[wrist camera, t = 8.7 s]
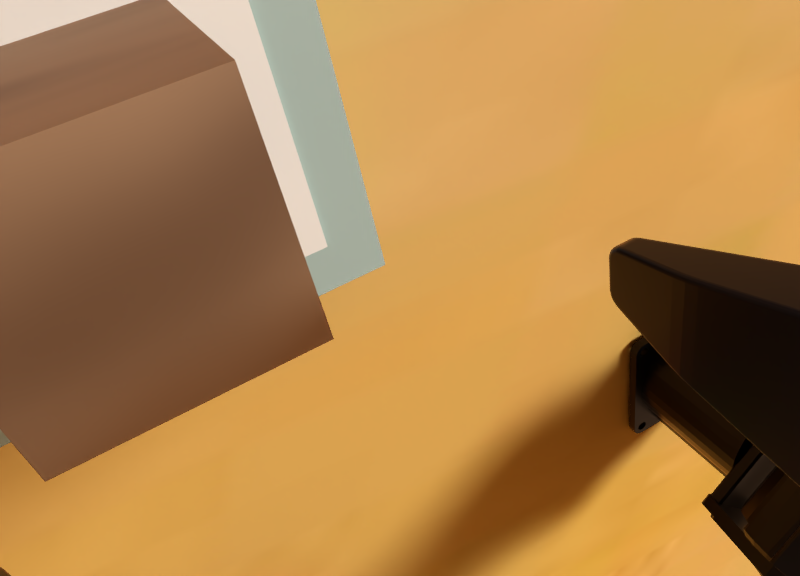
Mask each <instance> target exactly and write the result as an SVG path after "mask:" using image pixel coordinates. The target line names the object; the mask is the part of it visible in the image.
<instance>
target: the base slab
mask: <svg viewBox="0 0 800 576" xmlns="http://www.w3.org/2000/svg"><path fill="white" fill-rule="evenodd" d="M135 1H138V0H0V46H3V45H6V44H9V43H12V42H15V41H18V40H21V39H24V38H27V37H30V36H33V35H36V34H39V33H42V32H45V31H48V30H51V29H54V28H57V27H60V26H63V25H66V24H69V23H72V22H75V21H78V20H81V19H84V18H87V17H90V16H93V15H96V14H99V13H102V12H105V11H108V10H111V9H114V8H117V7H120V6H123V5H126V4H129V3H132V2H135ZM167 1H169V2H170V3H171V4H172V5H173V6H174V7H175V8H177V9H178V10H179V11H180V12H181V13H182V14H183V15H185V16H186V17H187V18H188V19H189V20H190V21H191V22H193V23H194V24H195V25H196V26H197V27H198V28H199V29H200V30H202V31H203V32H204V33H205V34H206V35H207V36H208V37H210V38H211V39H212V40H213V41H214V42H215V43H216V44H218V45H219V46H220V47H221V48H222V49H223V50H224V51H225V52H227V53H228V54H229V55H230V56H231V57H232V58H233V59H235V61H236V64H237V67H238V70H239V72H240V75H241V78H242V81H243V84H244V87H245V89H246V92H247V95H248V98H249V101H250V104H251V106H252V109H253V112H254V115H255V118H256V121H257V123H258V126H259V129H260V132H261V135H262V138H263V140H264V143H265V146H266V149H267V152H268V155H269V157H270V160H271V163H272V166H273V169H274V172H275V174H276V177H277V180H278V183H279V186H280V189H281V191H282V194H283V197H284V200H285V203H286V206H287V208H288V211H289V214H290V217H291V220H292V223H293V225H294V228H295V231H296V234H297V237H298V240H299V242H300V245H301V248H302V251H303V254H304V257H305V259H306V262H307V265H308V268H309V271H310V274H311V276H312V279H313V282H314V285H315V288H316V291H317V293H318V296H320V295H322V294H324V293H327V292H329V291H331V290H333V289H335V288H337V287H339V286H341V285H343V284H346V283H348V282H350V281H352V280H354V279H356V278H358V277H360V276H362V275H364V274H367V273H369V272H371V271H373V270H375V269H377V268H379V267H381V266H383V265H385V262H384V258H383V254H382V250H381V247H380V243H379V239H378V235H377V231H376V228H375V224H374V220H373V216H372V212H371V209H370V205H369V201H368V197H367V194H366V190H365V186H364V182H363V178H362V175H361V171H360V167H359V163H358V159H357V156H356V152H355V148H354V144H353V140H352V137H351V133H350V129H349V125H348V121H347V118H346V114H345V110H344V106H343V102H342V99H341V95H340V91H339V87H338V83H337V80H336V76H335V72H334V68H333V64H332V61H331V57H330V53H329V49H328V45H327V42H326V38H325V34H324V30H323V26H322V23H321V19H320V15H319V11H318V8H317V4H316V0H167ZM10 442H11V441H10V440H9V439H8V438H7V437H6V436H5V434H4V433H3V432H2V431H1V430H0V447H2V446H4V445H6V444H8V443H10Z"/></svg>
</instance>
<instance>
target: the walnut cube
mask: <svg viewBox="0 0 800 576" xmlns="http://www.w3.org/2000/svg"><path fill="white" fill-rule="evenodd" d="M332 339H333V336H332V333H331V330H330V327H329V325H328V322H327V319H326V316H325V313H324V310H323V308H322V305H321V302H320V299H319V296H318V293H317V291H316V288H315V285H314V282H313V279H312V276H311V274H310V271H309V268H308V265H307V262H306V259H305V257H304V254H303V251H302V248H301V245H300V242H299V240H298V237H297V234H296V231H295V228H294V225H293V223H292V220H291V217H290V214H289V211H288V208H287V206H286V203H285V200H284V197H283V194H282V191H281V189H280V186H279V183H278V180H277V177H276V174H275V172H274V169H273V166H272V163H271V160H270V157H269V155H268V152H267V149H266V146H265V143H264V140H263V138H262V135H261V132H260V129H259V126H258V123H257V121H256V118H255V115H254V112H253V109H252V106H251V104H250V101H249V98H248V95H247V92H246V89H245V87H244V84H243V81H242V78H241V75H240V72H239V70H238V67H237V64H236V61H235V59H233V58H232V57H231V56H230V55H229V54H228V53H227V52H225V51H224V50H223V49H222V48H221V47H220V46H219V45H218V44H216V43H215V42H214V41H213V40H212V39H211V38H210V37H208V36H207V35H206V34H205V33H204V32H203V31H202V30H200V29H199V28H198V27H197V26H196V25H195V24H194V23H193V22H191V21H190V20H189V19H188V18H187V17H186V16H185V15H183V14H182V13H181V12H180V11H179V10H178V9H177V8H175V7H174V6H173V5H172V4H171V3H170V2H169V1H167V0H138V1H135V2H132V3H129V4H126V5H123V6H120V7H117V8H114V9H111V10H108V11H105V12H102V13H99V14H96V15H93V16H90V17H87V18H84V19H81V20H78V21H75V22H72V23H69V24H66V25H63V26H60V27H57V28H54V29H51V30H48V31H45V32H42V33H39V34H36V35H33V36H30V37H27V38H24V39H21V40H18V41H15V42H12V43H9V44H6V45H3V46H0V430H1V431H2V432H3V433H4V434H5V436H6V437H7V438H8V439H9V440H10V441H11V443H12V444H13V445H14V446H15V447H16V448H17V449H18V451H19V452H20V453H21V454H22V455H23V456H24V458H25V459H26V460H27V461H28V462H29V463H30V465H31V466H32V467H33V468H34V469H35V470H36V472H37V473H38V474H39V475H40V476H41V477H42V479H43V480H44V481H47V480H49V479H52V478H54V477H56V476H58V475H60V474H62V473H64V472H66V471H68V470H70V469H72V468H74V467H76V466H78V465H80V464H82V463H84V462H86V461H88V460H90V459H92V458H94V457H96V456H98V455H100V454H102V453H104V452H106V451H108V450H110V449H112V448H114V447H116V446H118V445H120V444H122V443H124V442H126V441H128V440H130V439H132V438H134V437H136V436H138V435H140V434H142V433H144V432H146V431H148V430H150V429H152V428H154V427H157V426H159V425H161V424H163V423H165V422H167V421H169V420H171V419H173V418H175V417H177V416H179V415H181V414H183V413H185V412H187V411H189V410H191V409H193V408H195V407H197V406H199V405H201V404H203V403H205V402H207V401H209V400H211V399H213V398H215V397H217V396H219V395H221V394H223V393H225V392H227V391H229V390H231V389H233V388H235V387H237V386H239V385H241V384H243V383H245V382H247V381H249V380H251V379H253V378H255V377H257V376H259V375H261V374H264V373H266V372H268V371H270V370H272V369H274V368H276V367H278V366H280V365H282V364H284V363H286V362H288V361H290V360H292V359H294V358H296V357H298V356H300V355H302V354H304V353H306V352H308V351H310V350H312V349H314V348H316V347H318V346H320V345H322V344H324V343H326V342H328V341H330V340H332Z"/></svg>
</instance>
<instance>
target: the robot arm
mask: <svg viewBox="0 0 800 576" xmlns="http://www.w3.org/2000/svg"><path fill="white" fill-rule="evenodd" d="M609 269H610V292H611V296H612V298H613V301H614V302H615V304H616V305H617V307H618V308H619V309H620V310H621V311H622V312H623V313H624V315H625V316H626V317H627V318H628V319H629V320H630V321H631V323H632V324H633V325H634V326H635V327H636V328H637V329H638V331H639V332H640V333H641V334H642V335H643V336H644V338H642V339H640V340H638V341H637V342H636V343H635V344H634V345H633V347H632V348H631V352H630V417H629V426H630V428H631V429H632V430H633V431H634V432H635V433H641V432H643V431H644V430H646V429H648V428H649V427H651V426H653V425H654V424H656V423H658V422H659V421H661V422H662V423H663V424H665V425H666V426H667V427H668V428H669V429H670V430H672V431H673V432H674V433H675V434H676V435H677V436H678V437H680V438H681V439H682V440H683V441H684V442H685V443H687V444H688V445H689V446H690V447H691V448H692V449H694V450H695V451H696V452H697V453H698V454H699V455H701V456H702V457H703V458H704V459H705V460H706V461H708V462H709V463H710V464H711V465H712V466H713V467H715V468H716V469H717V470H718V471H719V472H720V473H721V474H723V475H724V476H725V478H724V479H723V480H722V482H721V483H720V484H719V485H718V487H717V488H716V489H715V490H714V492H713V493H712V494H708V495H707V497H706V498H705V499H704V500H703V502H702V504H703V505H704V506H705V507H706V508H707V509H708V511H709V512H710V513H711V518H712V519H713V520H714V521H715V522H716V523H717V524H718V525H719V527H720V528H721V529H722V530H723V531H724V532H725V533H726V534H727V536H728V537H729V538H730V539H731V540H732V541H733V542H734V543H735V545H736V546H737V547H738V548H739V549H740V550H741V551H742V552H743V554H744V555H745V556H746V557H747V558H748V559H749V560H750V562H751V563H752V564H753V565H754V566H755V568H756V569H757V570H758V572H759V573H760V575H761V576H800V265H797V264H791V263H785V262H779V261H773V260H767V259H761V258H755V257H749V256H744V255H738V254H732V253H726V252H720V251H714V250H708V249H702V248H696V247H690V246H684V245H678V244H672V243H667V242H661V241H655V240H649V239H643V238H632V239H629V240H627V241H626V242H624V243H622V244H620V245H618V246H616V247H614V248H613V249H612V250H611V252H610V255H609ZM0 576H11V575H9V574H8V573H7V572H6V571H5V570H4V569H2V568H1V567H0Z"/></svg>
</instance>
